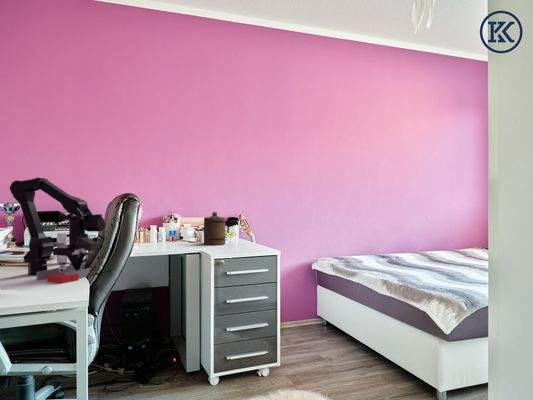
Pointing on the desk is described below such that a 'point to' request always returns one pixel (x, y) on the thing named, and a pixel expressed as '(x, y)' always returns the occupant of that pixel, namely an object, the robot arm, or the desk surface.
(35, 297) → the desk surface
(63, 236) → the syrup box
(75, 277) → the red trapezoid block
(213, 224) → the wooden container
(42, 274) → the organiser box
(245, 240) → the desk surface
